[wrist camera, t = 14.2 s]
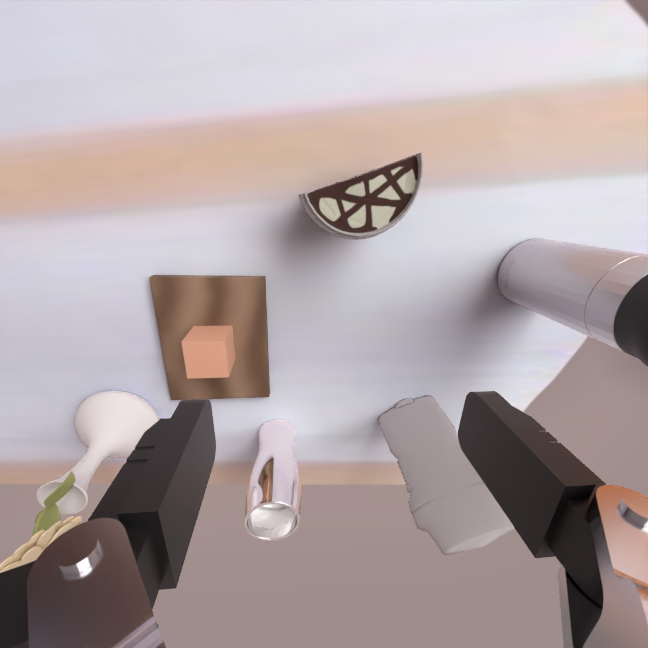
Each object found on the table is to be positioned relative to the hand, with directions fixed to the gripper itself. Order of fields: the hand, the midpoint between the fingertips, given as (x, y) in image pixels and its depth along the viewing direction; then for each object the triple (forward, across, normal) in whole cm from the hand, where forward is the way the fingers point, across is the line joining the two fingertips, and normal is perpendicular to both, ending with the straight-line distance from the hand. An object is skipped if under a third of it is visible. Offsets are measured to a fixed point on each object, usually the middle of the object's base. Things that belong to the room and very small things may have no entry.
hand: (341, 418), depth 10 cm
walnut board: (+33, +12, +12) cm, 37 cm away
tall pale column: (+33, -17, +25) cm, 45 cm away
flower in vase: (+33, +26, +24) cm, 48 cm away
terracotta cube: (+32, +12, +12) cm, 36 cm away
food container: (+33, -6, -6) cm, 34 cm away
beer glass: (+33, +4, +29) cm, 44 cm away
